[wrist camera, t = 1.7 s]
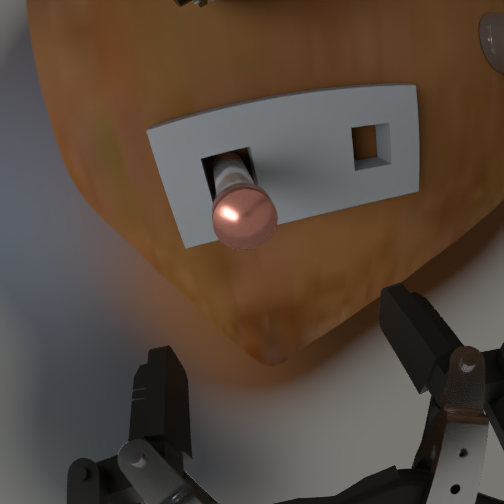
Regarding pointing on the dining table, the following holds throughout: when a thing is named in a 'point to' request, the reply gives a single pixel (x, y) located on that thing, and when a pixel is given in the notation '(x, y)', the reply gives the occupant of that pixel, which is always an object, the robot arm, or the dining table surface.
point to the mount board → (293, 152)
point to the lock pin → (240, 205)
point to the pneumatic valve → (199, 0)
